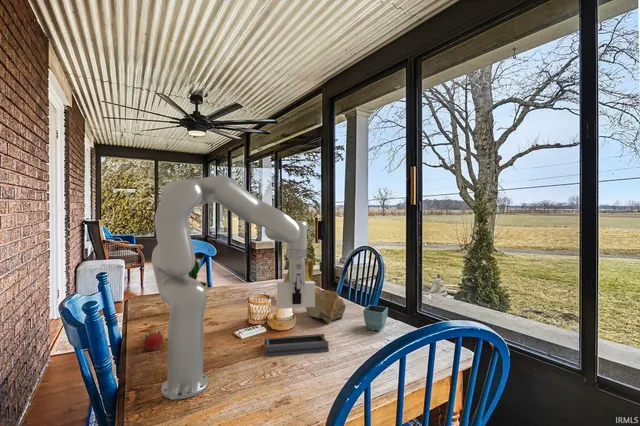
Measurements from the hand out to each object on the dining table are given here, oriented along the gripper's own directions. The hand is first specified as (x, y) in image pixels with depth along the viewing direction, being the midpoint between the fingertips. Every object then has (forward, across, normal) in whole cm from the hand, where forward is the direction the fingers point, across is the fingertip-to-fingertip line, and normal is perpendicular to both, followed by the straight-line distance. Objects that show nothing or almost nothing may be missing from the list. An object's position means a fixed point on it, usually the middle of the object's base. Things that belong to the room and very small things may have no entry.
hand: (296, 302), depth 119 cm
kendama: (+18, +14, +53) cm, 58 cm away
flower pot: (+18, +13, -37) cm, 43 cm away
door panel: (+2, 0, 0) cm, 2 cm away
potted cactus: (+18, +44, +45) cm, 65 cm away
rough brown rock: (+18, +30, -20) cm, 40 cm away
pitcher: (+18, +59, -10) cm, 62 cm away
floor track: (+17, 0, 0) cm, 17 cm away
